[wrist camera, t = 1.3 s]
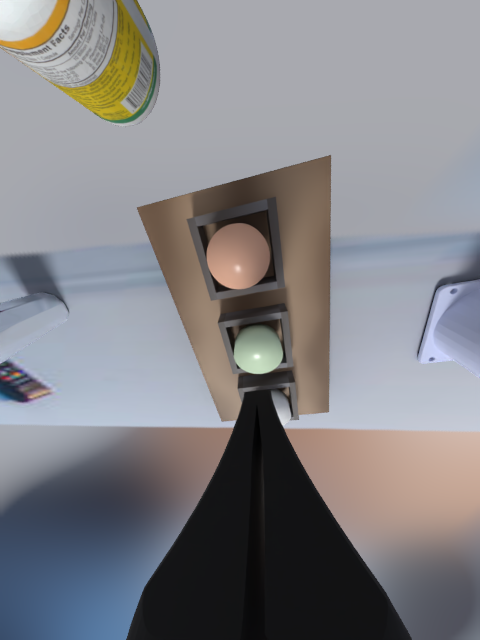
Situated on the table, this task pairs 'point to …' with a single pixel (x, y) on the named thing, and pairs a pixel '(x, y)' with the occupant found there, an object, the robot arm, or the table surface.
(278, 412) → the grey button
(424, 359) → the robot arm
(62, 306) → the milkshake
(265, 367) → the sage button
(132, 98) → the supplement bottle
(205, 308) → the button board
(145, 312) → the table surface
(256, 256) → the terracotta button
